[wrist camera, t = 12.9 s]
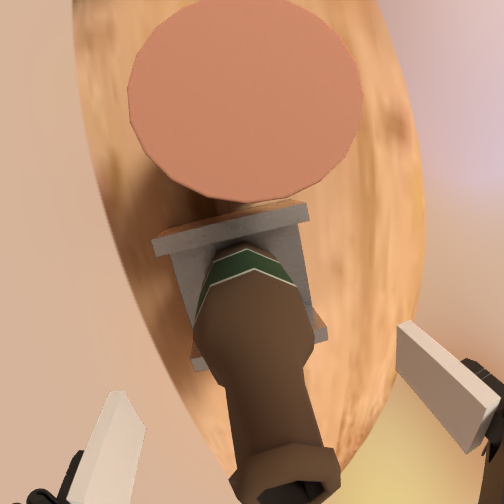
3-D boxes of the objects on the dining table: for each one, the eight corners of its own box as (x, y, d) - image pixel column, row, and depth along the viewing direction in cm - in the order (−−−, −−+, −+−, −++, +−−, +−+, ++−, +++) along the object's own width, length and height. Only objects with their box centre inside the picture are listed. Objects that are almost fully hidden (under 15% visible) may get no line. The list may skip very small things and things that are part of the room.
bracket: (165, 228, 30) (151, 239, 23) (289, 199, 30) (306, 202, 24) (199, 339, 33) (195, 371, 26) (310, 313, 33) (328, 339, 27)
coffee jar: (245, 215, 30) (274, 254, 13) (160, 155, 28) (81, 118, 11) (306, 134, 29) (400, 81, 12) (224, 75, 27) (227, -35, 9)
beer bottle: (278, 312, 31) (367, 519, 8) (204, 312, 30) (182, 538, 7) (282, 239, 30) (441, 393, 6) (203, 238, 29) (139, 422, 5)
